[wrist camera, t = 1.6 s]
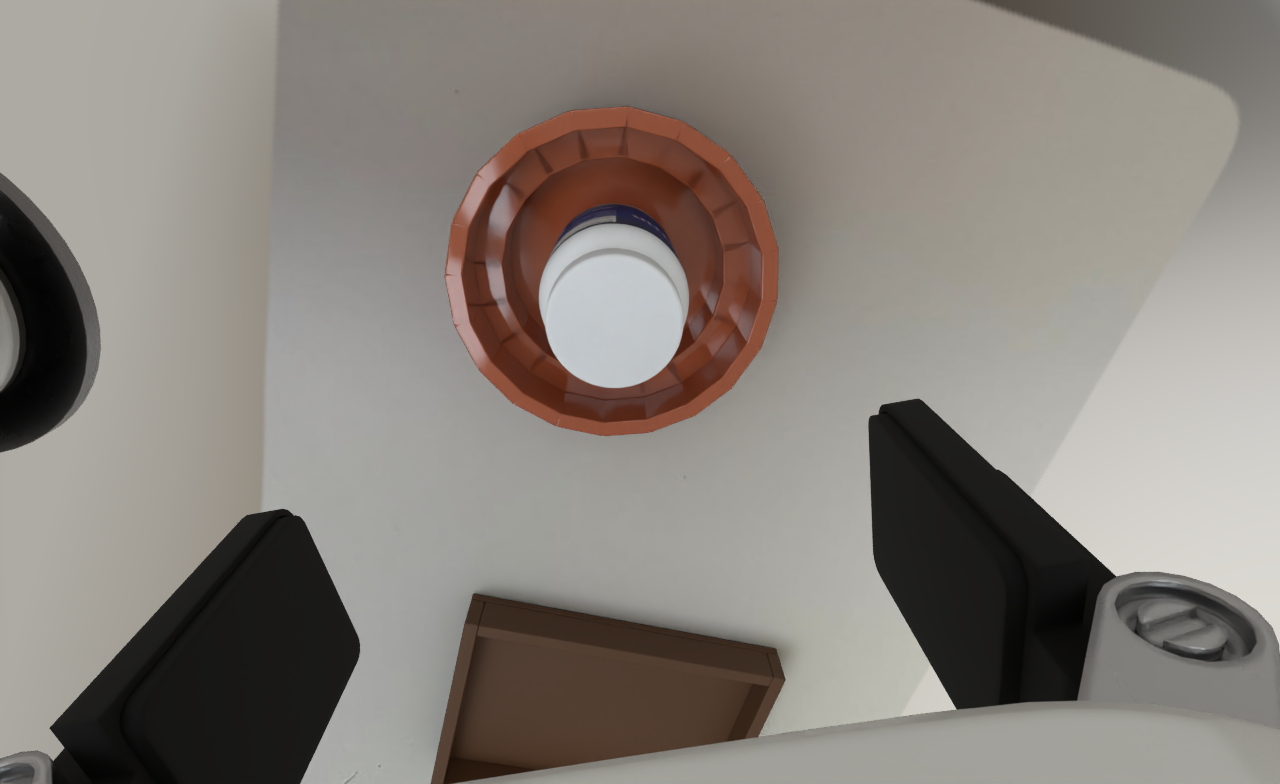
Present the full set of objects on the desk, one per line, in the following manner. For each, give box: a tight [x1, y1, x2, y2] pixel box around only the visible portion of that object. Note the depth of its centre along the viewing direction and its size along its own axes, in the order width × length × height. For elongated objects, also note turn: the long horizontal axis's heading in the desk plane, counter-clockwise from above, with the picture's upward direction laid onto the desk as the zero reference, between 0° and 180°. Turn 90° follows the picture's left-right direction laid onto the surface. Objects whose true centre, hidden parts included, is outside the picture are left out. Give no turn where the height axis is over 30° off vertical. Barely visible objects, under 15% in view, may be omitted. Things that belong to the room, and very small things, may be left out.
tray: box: [431, 594, 785, 784], centre depth 42 cm, size 20×15×2 cm
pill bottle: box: [539, 203, 689, 388], centre depth 26 cm, size 6×6×10 cm
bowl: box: [445, 106, 778, 436], centre depth 29 cm, size 13×13×6 cm
